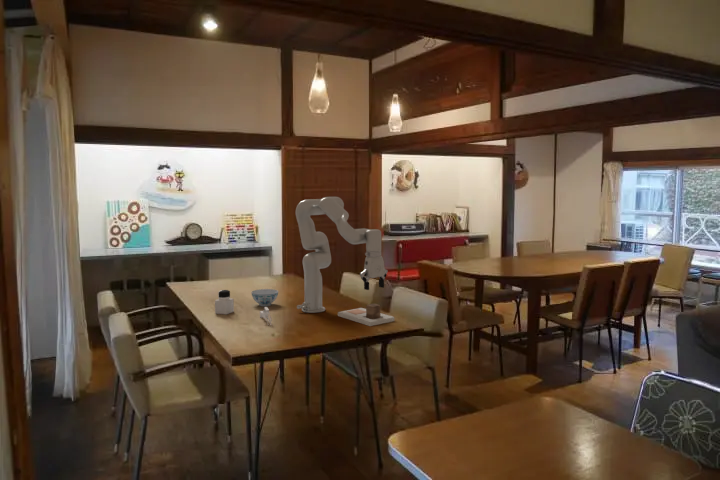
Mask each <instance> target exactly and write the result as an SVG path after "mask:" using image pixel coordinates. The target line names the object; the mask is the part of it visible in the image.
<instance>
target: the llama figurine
mask: <svg viewBox="0 0 720 480" xmlns="http://www.w3.org/2000/svg"><path fill="white" fill-rule="evenodd" d="M270 314H271V313H270V309H269V308H268V306H263V310H260V311H259V318H261V319H262V318H263V319H264V320H265V321H266V323H267V326H269V324H270V326H273V325H272V321H273V320H272V317H271V315H270ZM268 322H269V323H268Z"/></svg>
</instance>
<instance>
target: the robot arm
mask: <svg viewBox="0 0 720 480" xmlns="http://www.w3.org/2000/svg"><path fill="white" fill-rule="evenodd" d="M344 207H345V203H344V200H343V199H342V198H341V197H339V196H325V197H322V198H316V199H314V198H313V199H312V198H310V199H309V198H308V199H304V200H301V201H300V202H299V203H298V204H297V205H296V208H295V218H296V222H297V224H298V230H299V235H300V239H301V240H300V242H301V245H302V248H303V249H304V250H306V251H313V252H309V253H307V254H305V255H304V256H303V258H302V267H303V276H304V279H303V282H304V302H302V304H297V305H296V309H297V310H299V309H301V311H302V312H304V313H309V314H311V313H312V314H313V313H322V312H325V311H326V307H325V306H323V276H322V273H321V269H326V268H329V266H330V265H331V264H332V255H331V250H330V243H329V240H328V237H327V235H326V234H325V233H324V232H322V231H316V226H315V222H314V220H313V219H312V218H311V217H312V216H319V215H320V216H321V215H326V217H328V218H329V219H330V220H331V221H332V222H333V223H334V224H335V225H336V229H337V231H338V234H340V236H341V237H342V238H343V239H344V240H345V241H346V242H348V243H349V244H351V245H360V244H365V250H366V251H365V252H364V255H365V256H366V257H365V259H364V265H363V266H364V267H363V271H361V272H360V273H359V276H360V278H361V280H362V281H363V290H364V291H365V290H366V291H369V290H370V282H369V281H370V279H374V278H375V279H376V278H379V279H378V287H379V288H382V289H383V288H385V280H386V277H387V274H388V269H386V268H385V262H384V258H383V256H382V231H381V230H380V229H377V228H376V229H375V228H373V229H369V228H365V227H363V228H354V227H353V226H351V225H350V223H349V222H348V220H349V217H350V215H349V212H348V211H347V210H346V209H345V208H344Z"/></svg>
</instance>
